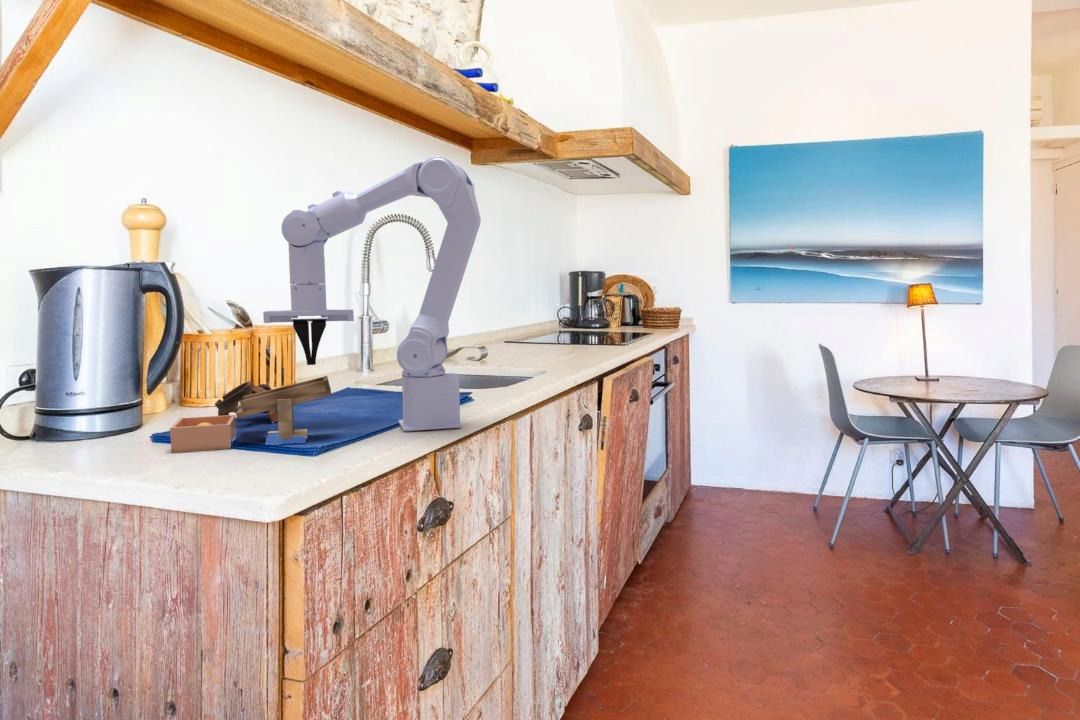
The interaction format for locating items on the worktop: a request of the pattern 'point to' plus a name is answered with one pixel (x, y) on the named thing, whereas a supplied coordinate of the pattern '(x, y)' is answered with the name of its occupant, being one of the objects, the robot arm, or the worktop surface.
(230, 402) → the dark brown bent piece
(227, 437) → the open cardboard tray
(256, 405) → the catapult lever
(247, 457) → the worktop surface
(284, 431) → the fulcrum stand
